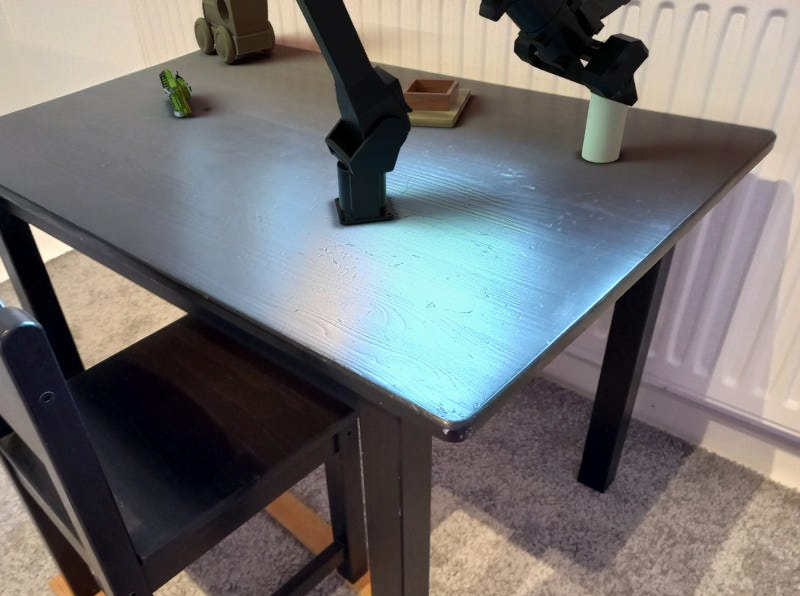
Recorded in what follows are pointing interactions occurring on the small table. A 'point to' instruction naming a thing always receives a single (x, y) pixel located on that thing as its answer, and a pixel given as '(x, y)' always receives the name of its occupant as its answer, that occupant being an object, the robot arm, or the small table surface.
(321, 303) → the small table surface
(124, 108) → the small table surface
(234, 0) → the wooden toy train
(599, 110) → the post
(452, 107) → the base pad
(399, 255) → the small table surface
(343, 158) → the robot arm
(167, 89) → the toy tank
